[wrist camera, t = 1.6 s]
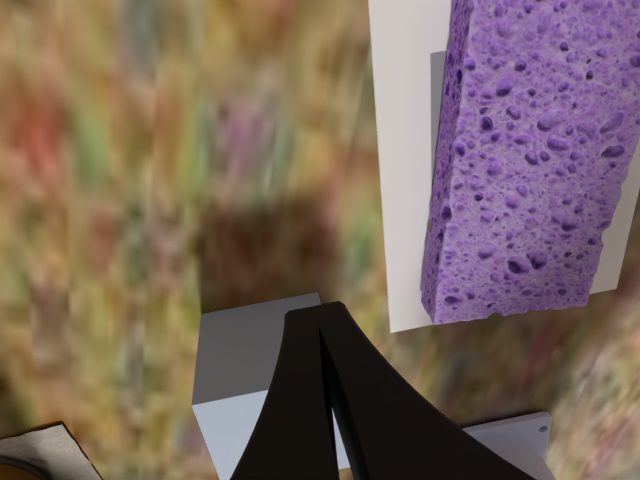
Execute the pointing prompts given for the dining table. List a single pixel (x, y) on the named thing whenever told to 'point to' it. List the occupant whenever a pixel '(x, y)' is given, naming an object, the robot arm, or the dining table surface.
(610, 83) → the sponges
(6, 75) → the dining table surface
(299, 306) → the cube
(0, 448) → the condiment
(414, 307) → the letter
